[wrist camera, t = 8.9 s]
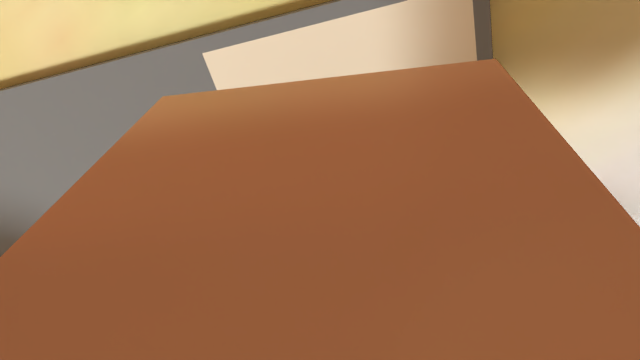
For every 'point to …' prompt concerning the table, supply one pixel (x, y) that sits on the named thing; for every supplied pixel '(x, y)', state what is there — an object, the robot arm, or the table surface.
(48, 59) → the table surface
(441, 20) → the mat
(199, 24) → the table surface
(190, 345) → the salmon rectangular box
